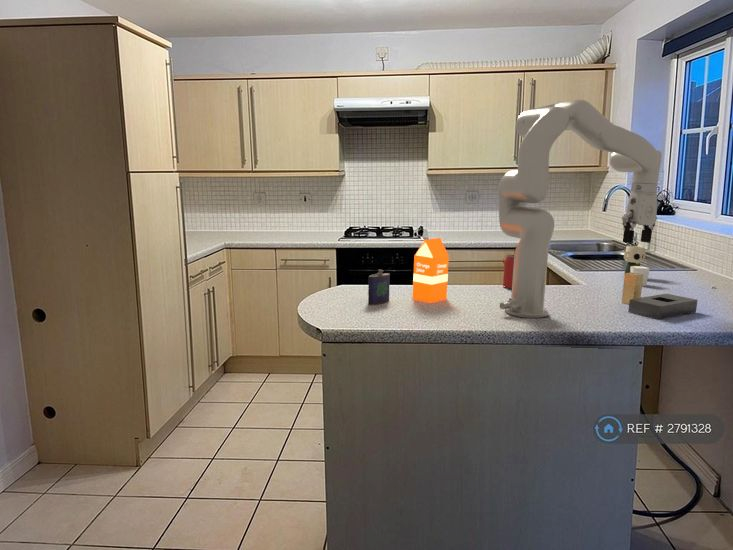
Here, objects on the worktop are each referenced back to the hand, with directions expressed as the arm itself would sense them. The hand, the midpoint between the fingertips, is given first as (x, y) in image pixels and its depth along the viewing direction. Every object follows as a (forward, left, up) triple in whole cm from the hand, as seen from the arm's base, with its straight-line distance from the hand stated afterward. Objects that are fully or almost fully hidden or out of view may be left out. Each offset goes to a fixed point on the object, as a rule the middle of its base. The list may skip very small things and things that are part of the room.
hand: (636, 242), depth 179 cm
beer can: (-17, +36, -21) cm, 45 cm away
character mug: (+48, +30, -21) cm, 60 cm away
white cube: (+35, +19, -21) cm, 44 cm away
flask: (-75, +37, -21) cm, 87 cm away
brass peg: (+1, 0, -21) cm, 21 cm away
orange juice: (-57, +34, -21) cm, 70 cm away
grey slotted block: (-1, -12, -21) cm, 24 cm away
